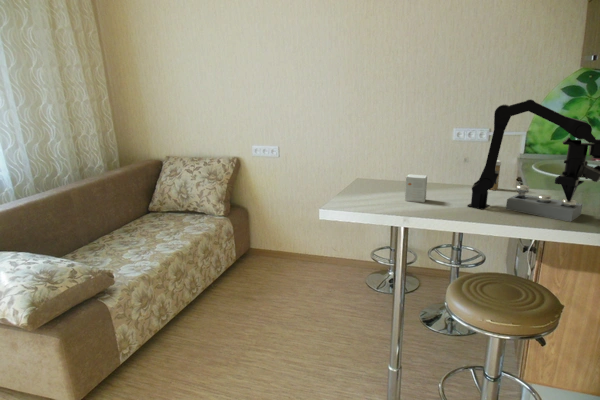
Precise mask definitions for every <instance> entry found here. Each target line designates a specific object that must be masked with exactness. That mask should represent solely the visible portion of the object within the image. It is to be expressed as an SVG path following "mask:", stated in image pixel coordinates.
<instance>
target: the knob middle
mask: <svg viewBox="0 0 600 400" xmlns="http://www.w3.org/2000/svg"><path fill="white" fill-rule="evenodd" d="M537 197H538V199H537V200H538V201H540V202H542V203H548V202H551V199H552V195H549V194H538V195H537Z"/></svg>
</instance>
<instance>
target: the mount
mask: <svg viewBox="0 0 600 400" xmlns="http://www.w3.org/2000/svg"><path fill="white" fill-rule="evenodd" d="M537 199H538V195H530V194H525V199H519V198H518V193H517V194H514V195H513V196H511V197H509V198H507V200H506V206H505V209H506V210H509V211H514V212H519V213H524V214H528V215H529V214H530V215H535V216H540V217H543V218H544V217H545V218H550V219H555V220H560V221H566V222H572V221H574V220H575V219H577V218H578V217H579V216H581V215H582V209H583V203H579V202H576V206H575V207H572V208H570V207H565V206H563V205H561V203H562V200H561V199H555V198H551V202H548V203H542V202H540V201H538V200H537Z"/></svg>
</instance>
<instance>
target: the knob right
mask: <svg viewBox="0 0 600 400" xmlns="http://www.w3.org/2000/svg"><path fill="white" fill-rule="evenodd" d="M561 201H562V203H561V205H563V206H565V207H570V208H572V207H575V206H576V203H577V200H575V199H573V198H572V199H571V201H568V200H567V199H566V198H563V199H562V200H561Z"/></svg>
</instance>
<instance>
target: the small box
mask: <svg viewBox="0 0 600 400" xmlns="http://www.w3.org/2000/svg"><path fill="white" fill-rule="evenodd" d="M427 184H428V175H426V174H409V173H408V175H406V177H405V193H404V195H405V196H404V201H405V202H415V203H425V201H426V199H427V188H428V187H427Z"/></svg>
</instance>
